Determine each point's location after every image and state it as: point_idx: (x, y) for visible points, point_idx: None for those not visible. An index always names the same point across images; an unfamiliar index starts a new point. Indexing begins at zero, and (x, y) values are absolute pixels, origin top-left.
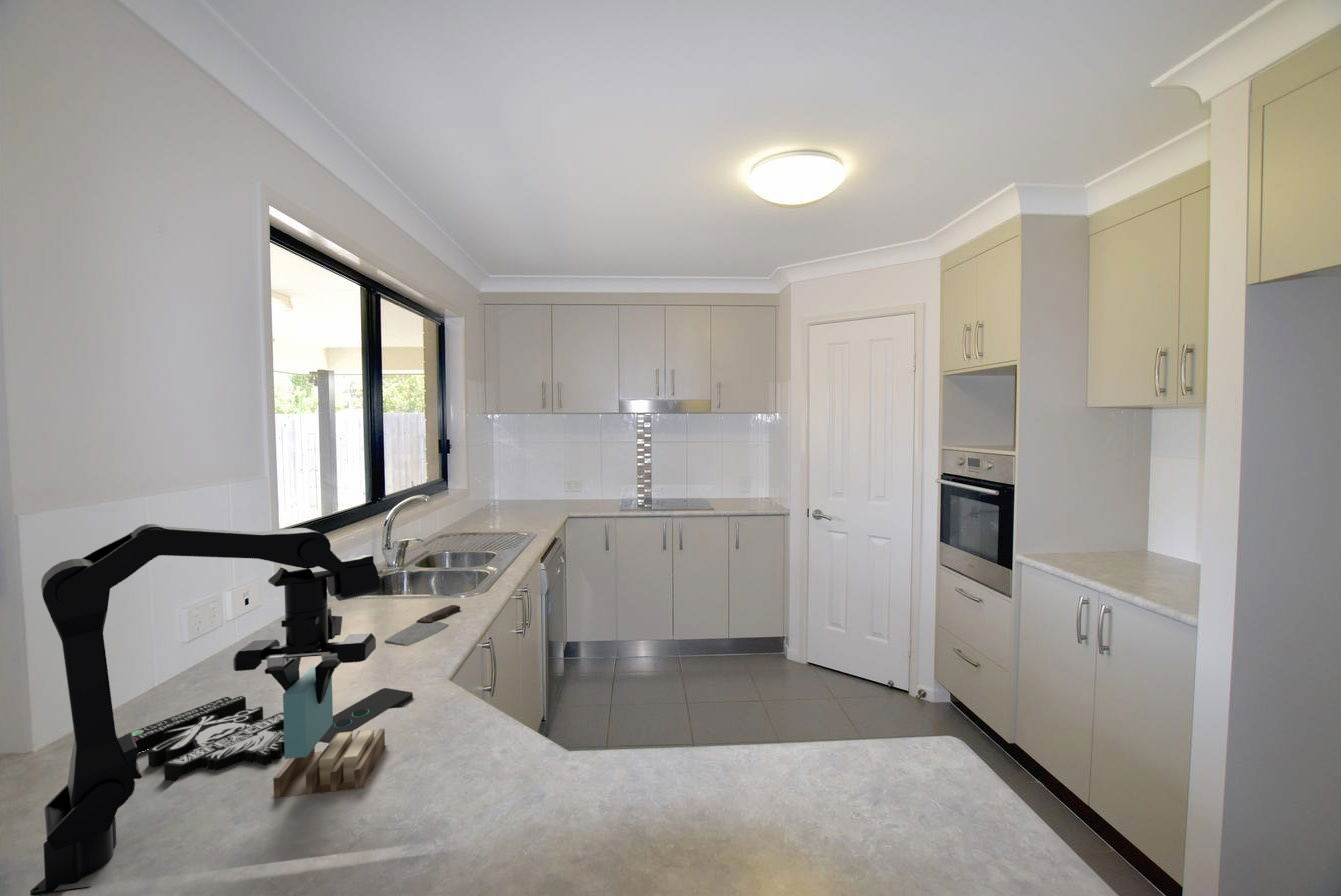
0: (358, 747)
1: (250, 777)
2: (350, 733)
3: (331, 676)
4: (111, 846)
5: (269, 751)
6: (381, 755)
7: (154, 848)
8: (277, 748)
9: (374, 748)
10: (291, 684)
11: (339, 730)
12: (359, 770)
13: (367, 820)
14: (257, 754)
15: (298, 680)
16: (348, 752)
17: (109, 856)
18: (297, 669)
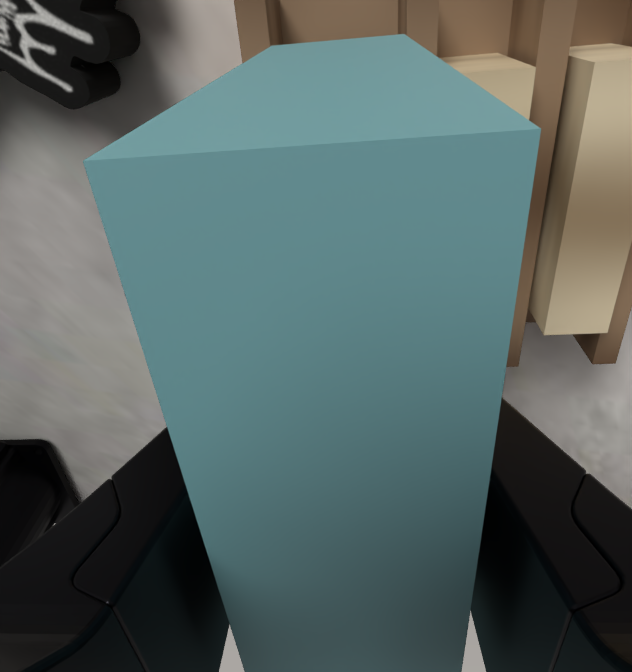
0: (604, 260)
1: (83, 140)
2: (529, 93)
3: (616, 499)
4: (32, 502)
5: (70, 67)
6: None
7: (98, 435)
8: (89, 36)
9: None
10: (215, 649)
11: None
12: (610, 360)
13: (614, 418)
14: (24, 82)
15: (229, 594)
16: (560, 298)
17: (47, 495)
18: (110, 663)
